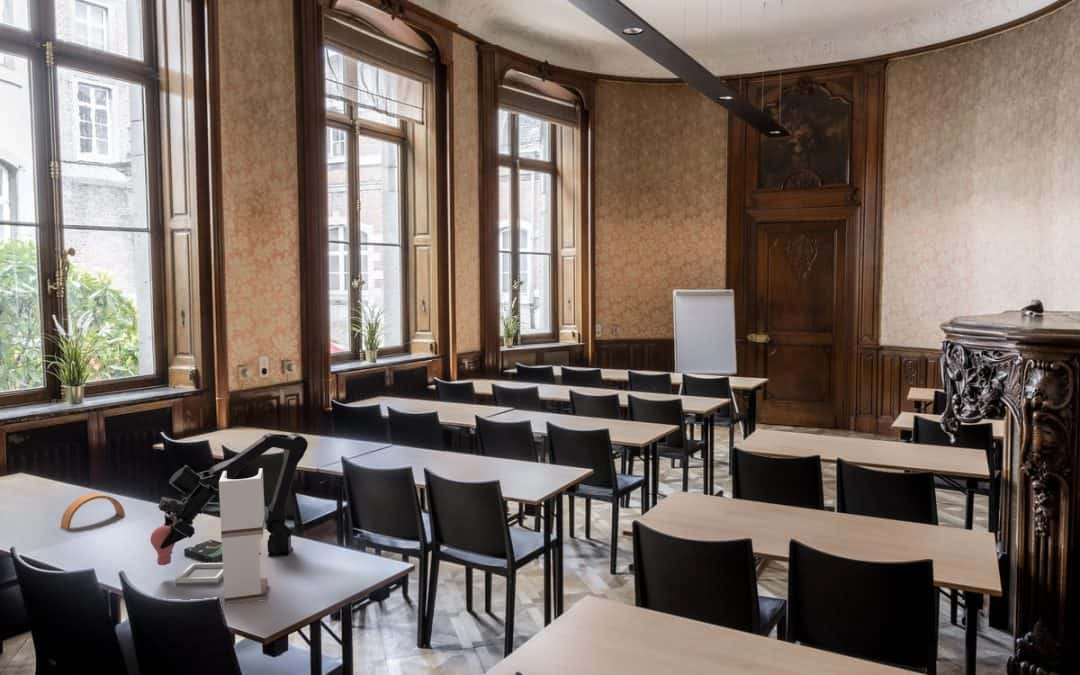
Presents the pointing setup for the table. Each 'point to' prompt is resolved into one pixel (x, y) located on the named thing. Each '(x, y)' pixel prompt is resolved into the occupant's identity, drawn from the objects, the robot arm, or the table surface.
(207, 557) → the disk drive
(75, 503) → the arch
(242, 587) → the tall white pillar
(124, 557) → the table surface
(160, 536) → the light bulb
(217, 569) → the white square frame
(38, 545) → the table surface
